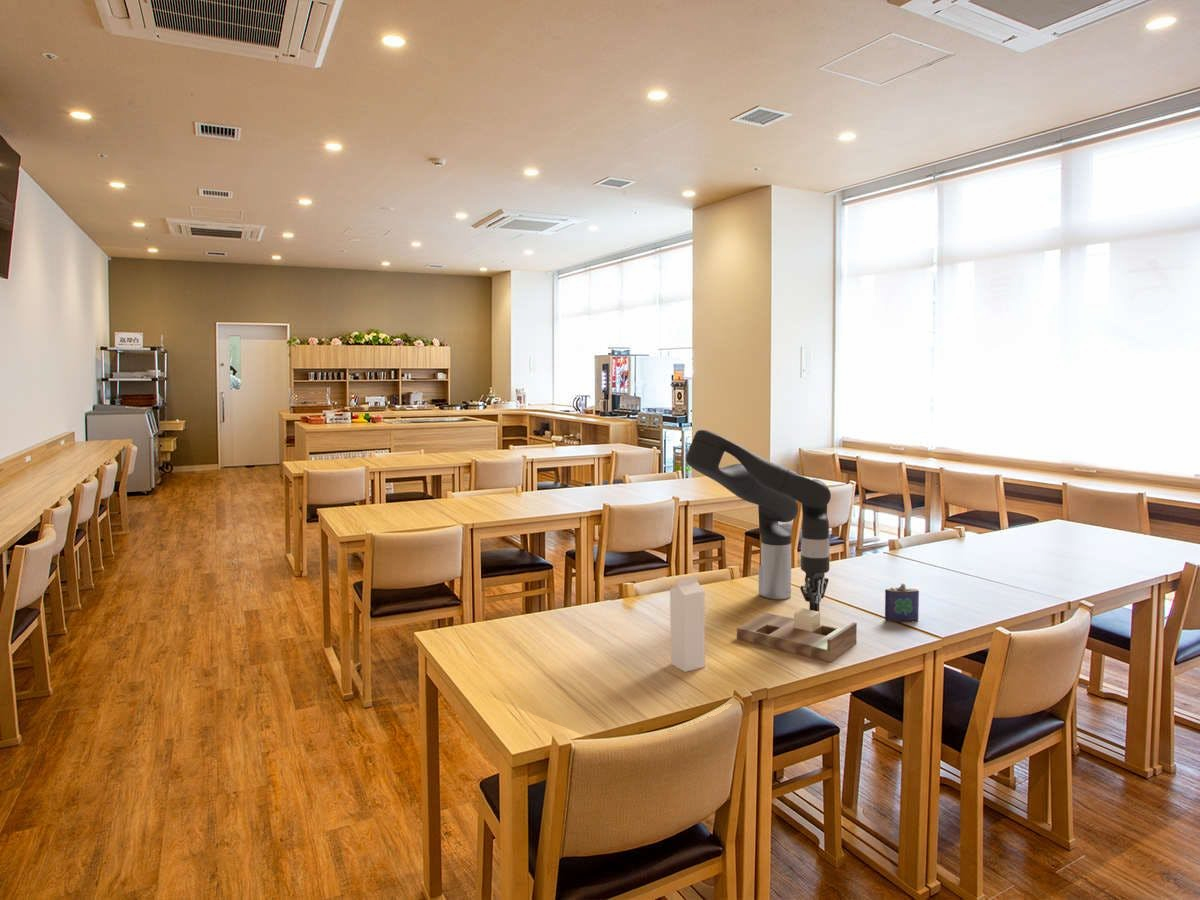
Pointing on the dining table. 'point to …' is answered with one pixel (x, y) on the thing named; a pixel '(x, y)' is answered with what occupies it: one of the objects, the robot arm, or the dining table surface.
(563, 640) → the dining table surface
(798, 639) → the board
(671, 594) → the milk
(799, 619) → the block
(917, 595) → the flask
